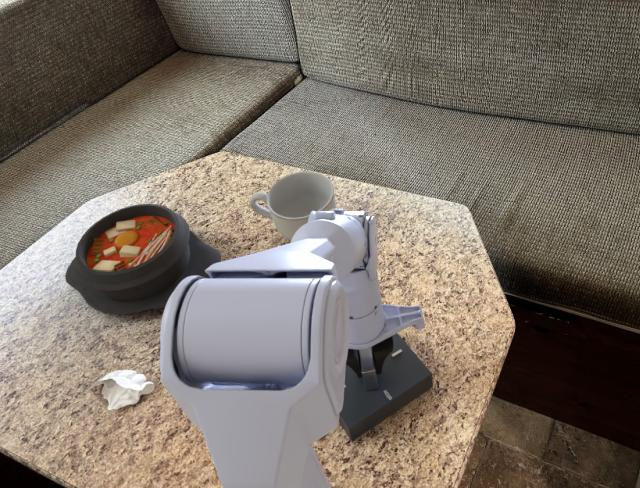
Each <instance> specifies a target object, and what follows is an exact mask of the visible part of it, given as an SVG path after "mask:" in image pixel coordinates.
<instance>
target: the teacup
mask: <svg viewBox="0 0 640 488" xmlns="http://www.w3.org/2000/svg"><path fill="white" fill-rule="evenodd" d="M257 201H262V202H264V203H265V204H266V206H267V208H266V207H263V206H262V205H260V204H259V203H258V202H257ZM249 206H250V209H251V210H252V211H253V212H254V213H256V214H258V215H259V216H261V217H265V218H266V219H267V218H268V219H270V220H271V221H272V222H273V224H274V227H275V228H276V230H277V232H278V233H279V234H280V235H281V236H282V237H283V238H284V239H287V240H289V241H291V240H292V238H293V236H294V234H295V233H296V231H297V230H298V229H299V228H300V227H302V226H303V225H305V224H306V223H308V219H309V216H310V213H311V212H312V211H314V212H315V213H316V212H318V211H329V210H331V209H338V207H337V206H338V205H337V200H336V195H335V187H334V184H333V182H332V180H331V179H330V178H328V176H327V175H324V174H322V173H320V172H317V171H312V170H311V171H310V170H303V171H302V170H301V171H295V172H292V173H289V174H286V175H284V176H281V178H280V179H278V180H276V181H275V182H274V183H273V184H272V185H271V187H270V188H269V190H268V191H267V193H266V192H262V191H257V192H254V193H252V195H251V196H250V198H249Z"/></svg>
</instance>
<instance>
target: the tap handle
mask: <svg viewBox="0 0 640 488" xmlns="http://www.w3.org/2000/svg"><path fill="white" fill-rule="evenodd" d="M359 356H360V363H361V371H362V376H363V381H364V386H365V390H366V391H370V390H375V389H378V388H379V387H378V381H377V375H376V370H375V363H374V357H373V349H372V346H371V347H369V348H366V349H359Z"/></svg>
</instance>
